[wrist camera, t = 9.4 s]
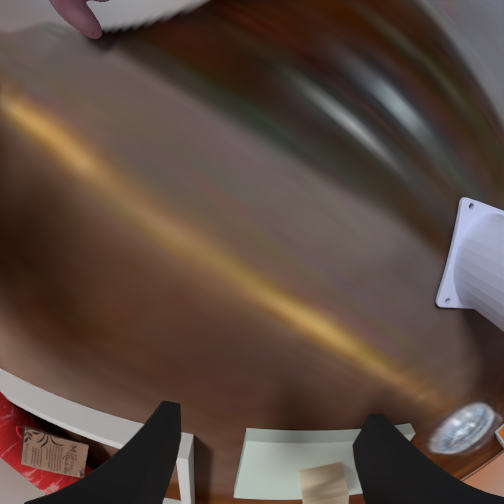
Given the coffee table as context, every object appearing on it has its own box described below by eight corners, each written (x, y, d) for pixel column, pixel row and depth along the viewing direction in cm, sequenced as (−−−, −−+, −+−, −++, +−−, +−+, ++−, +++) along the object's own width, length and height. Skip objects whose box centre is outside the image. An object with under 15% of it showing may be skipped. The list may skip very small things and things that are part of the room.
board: (410, 423, 22) (415, 433, 20) (366, 483, 25) (368, 492, 23) (246, 427, 21) (246, 440, 20) (234, 487, 25) (233, 497, 23)
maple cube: (341, 461, 21) (348, 493, 17) (341, 478, 22) (348, 507, 18) (299, 470, 21) (302, 503, 17) (303, 486, 22) (306, 516, 18)
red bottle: (-31, 385, 13) (168, 539, 18) (11, 347, 21) (171, 490, 26) (-51, 418, 13) (107, 544, 18) (-20, 386, 21) (115, 505, 26)
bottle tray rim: (193, 434, 22) (188, 459, 19) (195, 505, 27) (192, 523, 24) (-33, 348, 21) (-46, 359, 18) (10, 437, 26) (3, 448, 23)
